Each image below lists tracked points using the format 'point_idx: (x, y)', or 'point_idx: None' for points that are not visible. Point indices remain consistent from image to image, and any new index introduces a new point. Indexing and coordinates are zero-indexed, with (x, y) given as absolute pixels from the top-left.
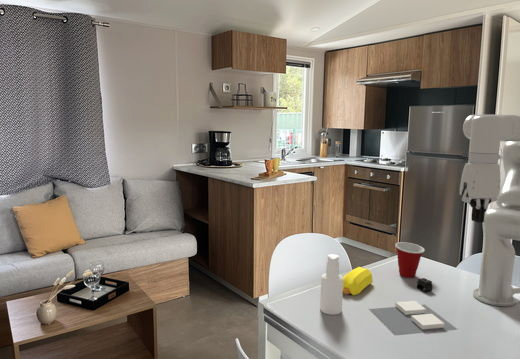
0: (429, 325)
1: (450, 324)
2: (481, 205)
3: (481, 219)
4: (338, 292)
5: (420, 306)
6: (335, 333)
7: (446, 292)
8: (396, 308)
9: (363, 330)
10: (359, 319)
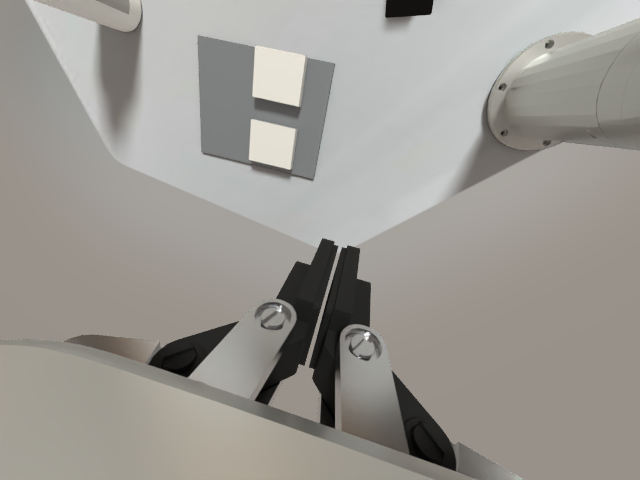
0: (262, 162)
1: (315, 161)
2: (322, 383)
3: (324, 309)
4: (78, 13)
5: (296, 89)
6: (115, 103)
7: (466, 3)
8: None
9: (162, 113)
10: (167, 70)
